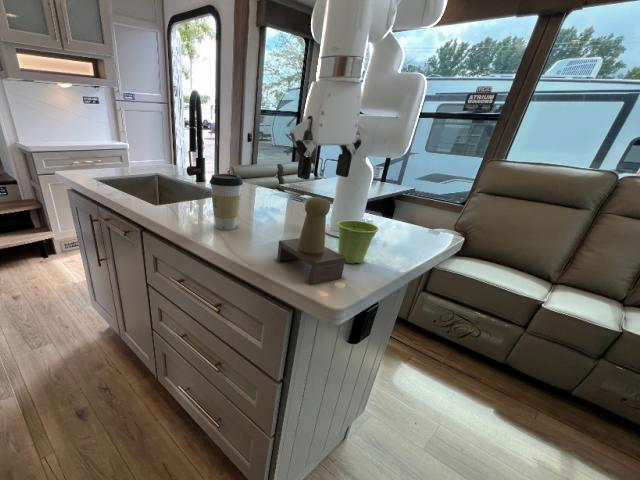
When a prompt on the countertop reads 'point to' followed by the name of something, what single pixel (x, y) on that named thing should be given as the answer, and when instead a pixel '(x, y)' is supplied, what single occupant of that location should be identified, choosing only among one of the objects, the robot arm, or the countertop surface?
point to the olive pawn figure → (314, 225)
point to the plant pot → (355, 239)
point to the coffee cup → (225, 199)
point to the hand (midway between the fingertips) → (322, 177)
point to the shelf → (313, 261)
